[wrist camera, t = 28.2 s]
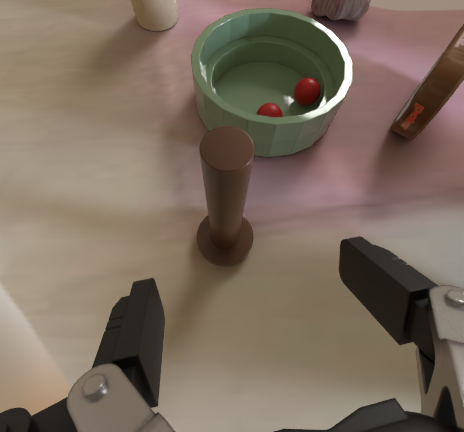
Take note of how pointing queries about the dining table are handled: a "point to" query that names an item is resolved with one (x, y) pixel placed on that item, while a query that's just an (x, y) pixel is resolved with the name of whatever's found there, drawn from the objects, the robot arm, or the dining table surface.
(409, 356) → the dining table surface
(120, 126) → the dining table surface
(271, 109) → the berry
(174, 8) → the candle
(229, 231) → the muddler
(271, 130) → the bowl
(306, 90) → the berry
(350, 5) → the garlic bulb
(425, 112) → the tin
